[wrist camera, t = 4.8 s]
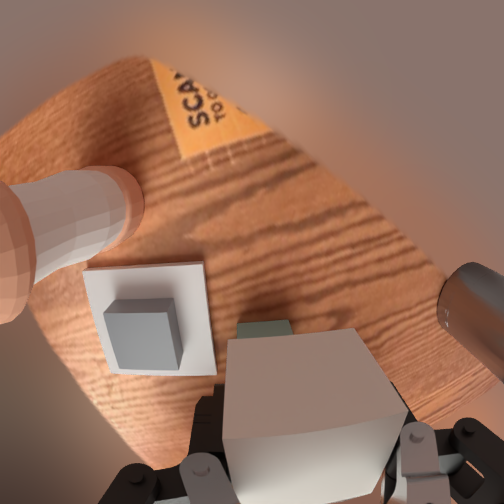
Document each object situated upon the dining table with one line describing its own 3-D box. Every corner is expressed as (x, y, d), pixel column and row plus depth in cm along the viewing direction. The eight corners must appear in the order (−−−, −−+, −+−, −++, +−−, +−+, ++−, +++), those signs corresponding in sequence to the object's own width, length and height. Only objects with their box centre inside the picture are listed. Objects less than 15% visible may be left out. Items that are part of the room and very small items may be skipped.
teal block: (288, 318, 29) (297, 346, 24) (287, 359, 30) (296, 390, 25) (236, 322, 29) (237, 351, 24) (240, 363, 30) (241, 394, 25)
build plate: (203, 260, 27) (198, 276, 23) (217, 369, 30) (215, 393, 26) (86, 267, 26) (67, 281, 22) (113, 368, 29) (102, 389, 25)
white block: (353, 327, 11) (408, 410, 6) (341, 413, 13) (371, 493, 8) (227, 339, 11) (222, 439, 6) (238, 424, 12) (239, 512, 8)
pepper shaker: (63, 204, 24) (-99, 258, 6) (110, 149, 23) (-66, 136, 5) (108, 259, 26) (-28, 377, 8) (160, 207, 25) (16, 288, 7)
